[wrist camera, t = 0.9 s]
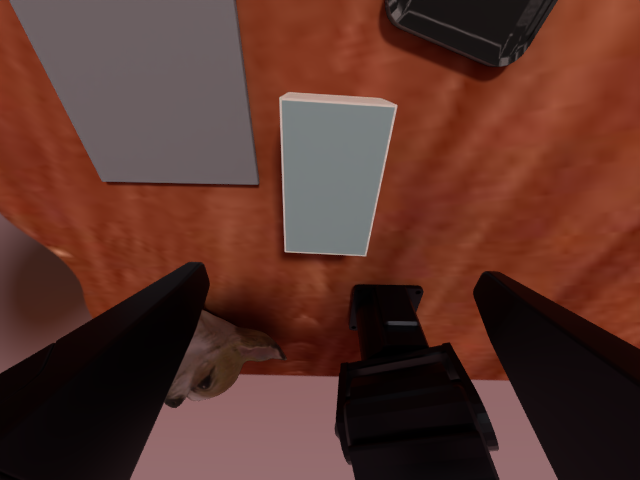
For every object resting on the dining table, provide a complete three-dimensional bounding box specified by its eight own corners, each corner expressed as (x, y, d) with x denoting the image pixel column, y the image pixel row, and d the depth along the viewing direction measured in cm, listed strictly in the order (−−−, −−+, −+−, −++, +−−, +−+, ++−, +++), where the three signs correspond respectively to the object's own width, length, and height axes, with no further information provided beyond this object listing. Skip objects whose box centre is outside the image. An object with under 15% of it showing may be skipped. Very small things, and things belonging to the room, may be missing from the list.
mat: (259, 182, 17) (258, 184, 17) (106, 179, 17) (102, 181, 17) (214, -160, 9) (211, -169, 9) (-67, -166, 9) (-81, -175, 9)
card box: (358, 225, 20) (365, 256, 16) (291, 221, 20) (284, 252, 16) (380, 97, 15) (397, 105, 11) (289, 91, 14) (279, 97, 11)
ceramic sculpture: (127, 352, 14) (286, 420, 22) (188, 255, 21) (293, 332, 29) (44, 394, 18) (206, 440, 26) (119, 299, 25) (229, 358, 32)
